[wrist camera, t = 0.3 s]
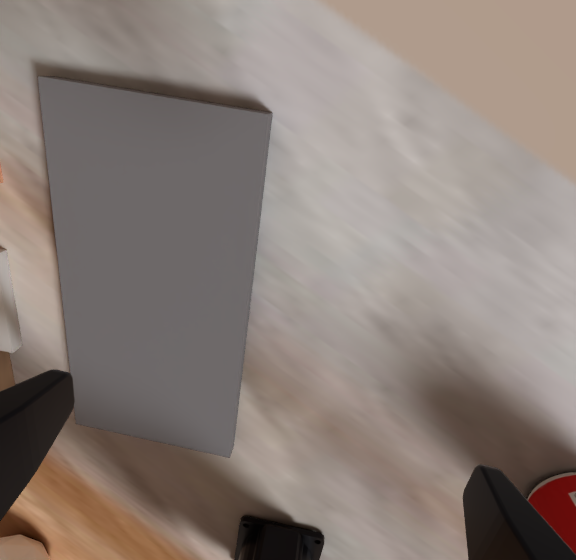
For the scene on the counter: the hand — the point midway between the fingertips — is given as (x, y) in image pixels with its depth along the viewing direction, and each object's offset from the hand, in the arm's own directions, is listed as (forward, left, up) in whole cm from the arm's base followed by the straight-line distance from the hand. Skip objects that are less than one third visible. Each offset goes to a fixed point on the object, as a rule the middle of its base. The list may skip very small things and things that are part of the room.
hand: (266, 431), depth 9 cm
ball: (-35, +21, -15) cm, 43 cm away
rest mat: (-6, +9, -14) cm, 18 cm away
